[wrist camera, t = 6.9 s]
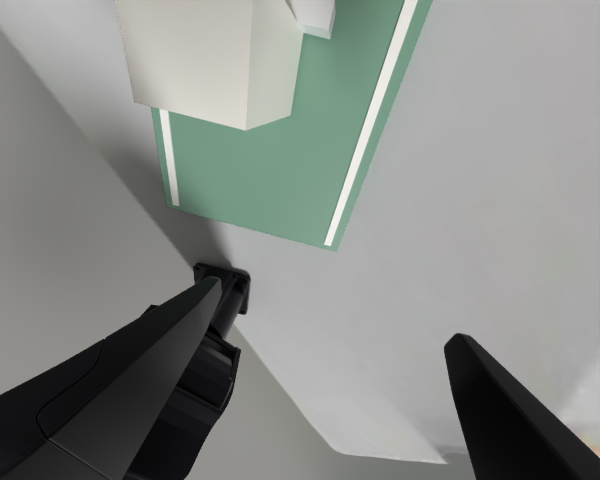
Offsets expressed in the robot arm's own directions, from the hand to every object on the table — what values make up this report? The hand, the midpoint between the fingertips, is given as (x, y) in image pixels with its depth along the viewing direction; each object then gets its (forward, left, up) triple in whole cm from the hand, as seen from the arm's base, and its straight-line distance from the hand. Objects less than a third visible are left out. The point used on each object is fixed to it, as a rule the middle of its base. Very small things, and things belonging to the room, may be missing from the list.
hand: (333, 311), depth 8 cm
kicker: (+7, +7, -10) cm, 14 cm away
